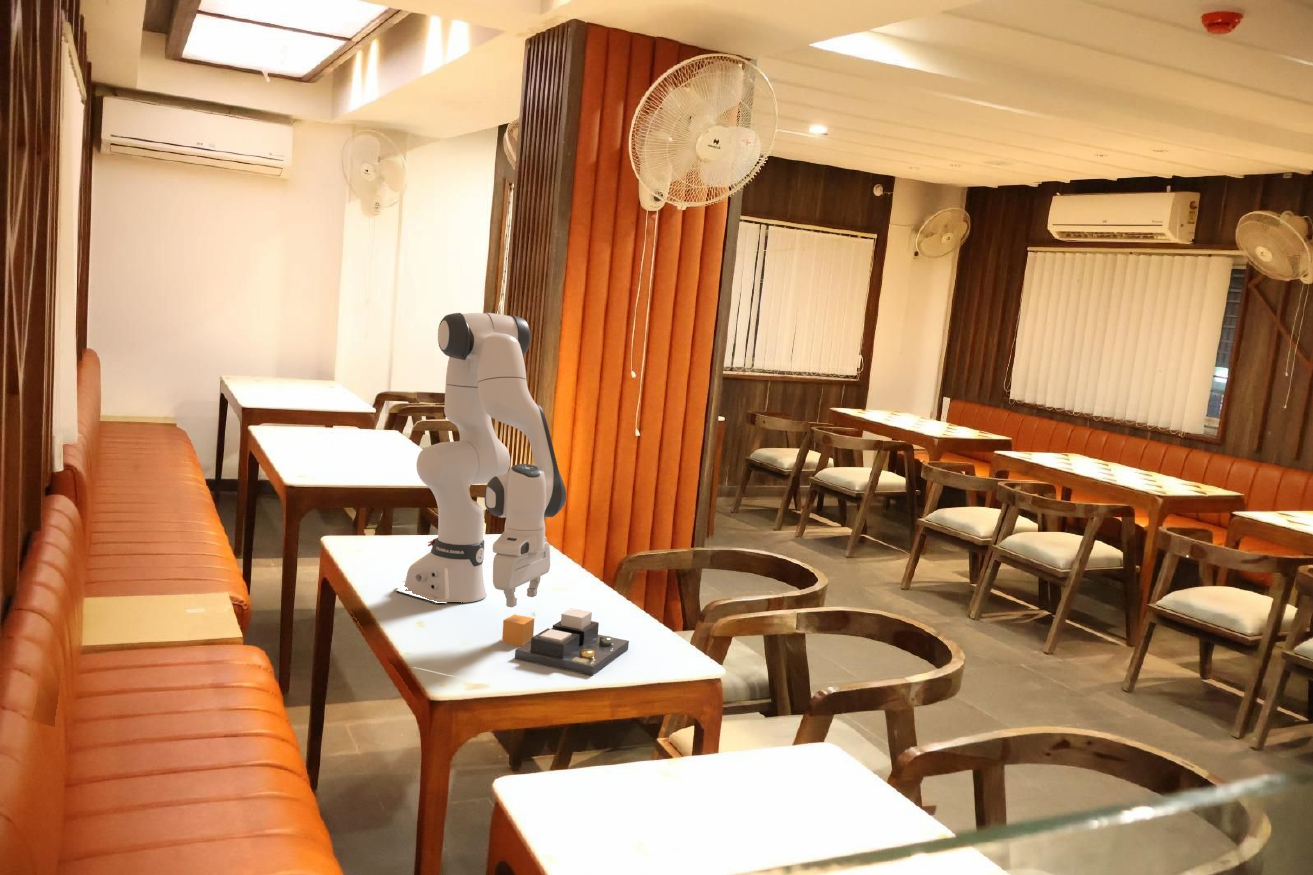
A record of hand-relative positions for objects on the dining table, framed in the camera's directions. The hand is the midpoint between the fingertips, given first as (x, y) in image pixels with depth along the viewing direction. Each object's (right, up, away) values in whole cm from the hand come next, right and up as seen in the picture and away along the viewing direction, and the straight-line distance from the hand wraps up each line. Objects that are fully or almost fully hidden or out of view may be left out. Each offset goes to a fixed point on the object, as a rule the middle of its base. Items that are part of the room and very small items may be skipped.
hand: (521, 601), depth 234 cm
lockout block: (-1, -9, +2) cm, 9 cm away
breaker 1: (+8, -9, -8) cm, 14 cm away
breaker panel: (+12, -11, -4) cm, 16 cm away
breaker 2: (+12, -6, +1) cm, 13 cm away
